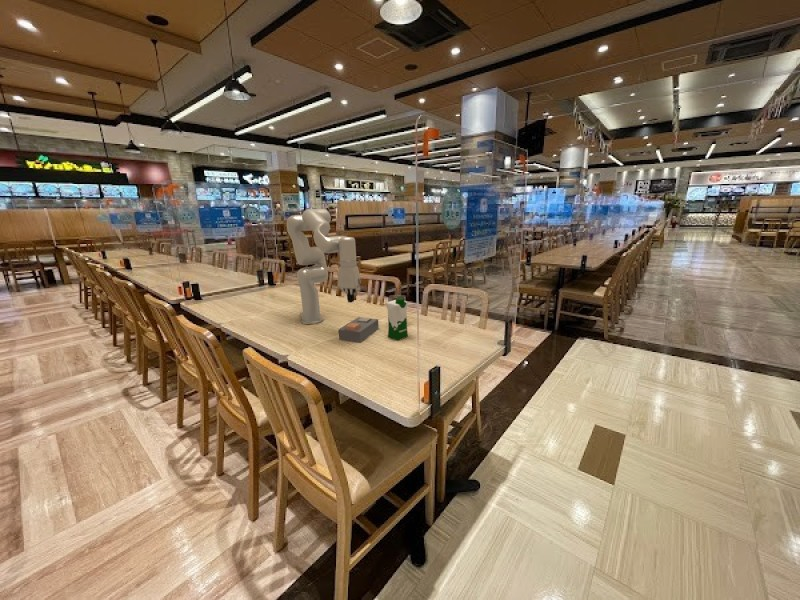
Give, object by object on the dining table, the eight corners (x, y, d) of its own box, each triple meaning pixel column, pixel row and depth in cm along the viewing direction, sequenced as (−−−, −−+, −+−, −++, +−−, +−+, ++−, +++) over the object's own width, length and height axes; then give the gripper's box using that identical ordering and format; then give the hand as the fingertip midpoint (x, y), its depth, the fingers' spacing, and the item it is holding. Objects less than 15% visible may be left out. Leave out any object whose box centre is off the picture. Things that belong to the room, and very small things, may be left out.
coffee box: (406, 322, 179) (405, 294, 175) (405, 326, 173) (404, 297, 169) (390, 322, 180) (389, 294, 176) (389, 326, 174) (387, 297, 169)
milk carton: (398, 341, 152) (397, 301, 147) (385, 337, 158) (383, 298, 153) (410, 336, 159) (409, 297, 153) (397, 332, 165) (396, 294, 159)
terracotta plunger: (346, 335, 156) (345, 326, 155) (351, 332, 161) (351, 322, 159) (355, 336, 154) (354, 327, 153) (360, 333, 159) (359, 323, 157)
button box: (339, 339, 157) (338, 329, 155) (359, 326, 174) (358, 317, 173) (360, 342, 152) (359, 332, 151) (378, 329, 170) (378, 319, 169)
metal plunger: (358, 329, 167) (358, 320, 166) (363, 326, 171) (362, 317, 170) (367, 330, 165) (366, 321, 164) (371, 327, 170) (370, 318, 168)
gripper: (330, 264, 148) (333, 302, 153) (358, 265, 142) (360, 305, 147) (339, 262, 154) (341, 298, 159) (366, 263, 149) (368, 301, 154)
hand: (351, 301), depth 153 cm, fingers closed
